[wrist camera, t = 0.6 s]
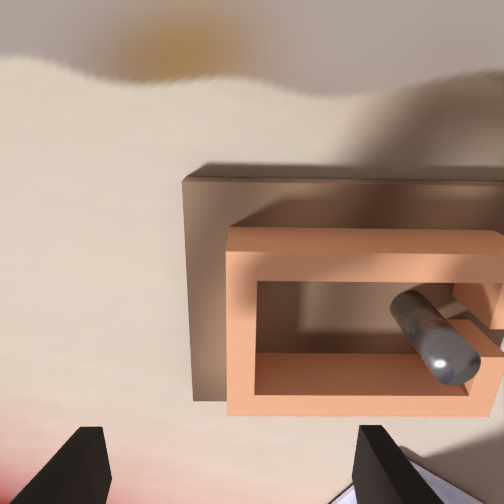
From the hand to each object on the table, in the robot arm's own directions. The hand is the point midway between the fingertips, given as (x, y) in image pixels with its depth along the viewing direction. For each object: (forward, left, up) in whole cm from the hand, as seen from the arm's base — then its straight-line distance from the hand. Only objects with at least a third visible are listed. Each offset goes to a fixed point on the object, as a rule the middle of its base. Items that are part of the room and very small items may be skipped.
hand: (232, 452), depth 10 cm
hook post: (-7, -5, -8) cm, 12 cm away
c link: (-5, -3, -8) cm, 10 cm away
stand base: (-5, -3, -9) cm, 11 cm away
